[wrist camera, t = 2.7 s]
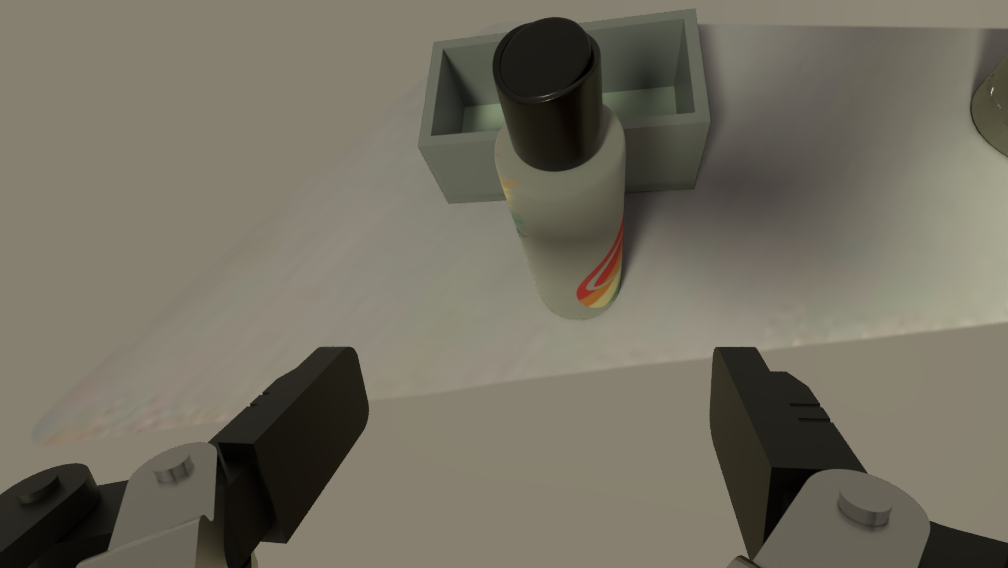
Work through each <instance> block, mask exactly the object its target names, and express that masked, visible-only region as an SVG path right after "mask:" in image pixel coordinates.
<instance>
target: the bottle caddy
mask: <svg viewBox="0 0 1008 568" xmlns="http://www.w3.org/2000/svg"><path fill="white" fill-rule="evenodd" d="M578 24H579V25H580V26H581V27H582V28H583V29H584V31H585V32H586V33H587V34H589V35H590V36H591V37H593V38H594V39H595V41H596V42H597V43H598V45H599V48H600V51H601V70H602V102H603V104H605V105H606V106H607V107H608V108H610V109H611V110H612V111H613V112H614V113H615V115H616V116H617V117H618V119H619V121H620V123H621V125H622V127H623V131H624V135H625V143H626V161H625V190H624V193H630V192H646V191H663V190H679V189H694V185H695V181H696V177H697V174H698V170H699V166H700V162H701V158H702V154H703V150H704V146H705V142H706V138H707V134H708V130H709V127H710V123H711V120H710V112H709V105H708V98H707V90H706V83H705V76H704V68H703V61H702V53H701V46H700V39H699V31H698V24H697V17H696V9H687V10H680V11H671V12H664V13H656V14H649V15H640V16H633V17H625V18H617V19H609V20H602V21H594V22H586V23H578ZM508 33H509V32H508ZM508 33H501V34H493V35H485V36H477V37H470V38H462V39H454V40H446V41H438V42H434V44H433V51H432V57H431V64H430V70H429V77H428V83H427V90H426V96H425V103H424V109H423V116H422V123H421V129H420V136H419V142H418V148H419V150H420V152H421V154H422V155H423V157H424V159H425V161H426V163H427V165H428V167H429V168H430V170H431V172H432V174H433V176H434V178H435V179H436V181H437V183H438V185H439V187H440V189H441V191H442V192H443V194H444V196H445V198H446V200H447V202H448V204H450V203H466V202H483V201H499V200H507V199H506V196H505V194H504V191H503V188H502V185H501V182H500V178H499V175H498V172H497V168H496V164H495V155H494V150H495V143H496V139H497V136H498V134H499V132H500V130H501V128H502V127H503V125H504V124H505V118H504V114H503V111H502V107H501V104H500V100H499V97H498V93H497V89H496V86H495V82H494V78H493V72H492V62H493V56H494V53H495V50H496V48H497V46H498V44H499V43H500V41H501V40H502V39H503V37H504V36H505V35H506V34H508Z"/></svg>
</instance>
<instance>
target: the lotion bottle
mask: <svg viewBox="0 0 1008 568" xmlns="http://www.w3.org/2000/svg"><path fill="white" fill-rule="evenodd" d="M492 72H493V78H494V82H495V86H496V89H497V93H498V97H499V100H500V104H501V107H502V111H503V114H504V118H505V124H504V125H503V127H502V128H501V130H500V132H499V134H498V136H497V139H496V143H495V150H494V155H495V164H496V168H497V172H498V175H499V178H500V182H501V185H502V188H503V191H504V194H505V196H506V199H507V202H508V205H509V208H510V211H511V214H512V217H513V220H514V223H515V226H516V228H517V231H518V234H519V237H520V240H521V243H522V246H523V249H524V252H525V255H526V258H527V260H528V263H529V266H530V269H531V272H532V275H533V278H534V281H535V284H536V286H537V289H538V292H539V294H540V296H541V298H542V300H543V302H544V303H545V304H546V306H547V307H548V308H549V309H550V310H551V311H553V312H554V313H556V314H557V315H559V316H561V317H564V318H567V319H571V320H585V319H590V318H593V317H596V316H598V315H600V314H601V313H603V312H604V311H606V310H607V309H608V308H609V307H610V306H611V305H612V303H613V302H614V300H615V299H616V297H617V294H618V292H619V288H620V282H621V267H622V242H623V216H624V190H625V161H626V143H625V135H624V131H623V127H622V125H621V123H620V121H619V119H618V117H617V116H616V115H615V113H614V112H613V111H612V110H611V109H610V108H608V107H607V106H606V105H605V104H603V102H602V70H601V51H600V48H599V45H598V43H597V42H596V41H595V39H594V38H593V37H591V36H590V35H589V34H587V33H586V32H585V31H584V29H583V28H582V27H581V26H580V25H579V24H577V23H576V22H574V21H572V20H569V19H566V18H560V17H551V18H544V19H541V20H537V21H535V22H531V23H527V24H524V25H521V26H519V27H517V28H515V29H513V30H511V31H510V32H509V33H508V34H506V35H505V36H504V37H503V39H502V40H501V41H500V43H499V44H498V46H497V48H496V50H495V53H494V56H493V62H492Z"/></svg>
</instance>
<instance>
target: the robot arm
mask: <svg viewBox="0 0 1008 568" xmlns="http://www.w3.org/2000/svg"><path fill="white" fill-rule="evenodd" d="M971 111H972V115H973V119H974V123H975V124H976V126H977V128H978V130H979V131H980V133H981V134H982V135H983V137H984V138H985V139H986V140H987V141H988V142H989V143H990V144H991V145H992V146H994V147H995V148H996V149H998V150H999V151H1000V152H1002V153H1003V154H1005V155H1006V156H1008V54H1007V55H1006V56H1005V58H1004V59H1003V60H1002V61H1001V62H1000V63H999V65H998V66H997V67H996V68H995V69H994V70H993V72H992V73H991V74H990V75H989V76H988V77H987V78H986V80H985V81H984V82H983V83H982V84H981V85H980V87H979V88H978V89H977V90H976V93H975V95H974V97H973V99H972V110H971ZM368 415H369V405H368V399H367V395H366V390H365V386H364V381H363V377H362V373H361V368H360V364H359V359H358V355H357V353H356V351H355V350H354V349H353V348H352V347H319V348H317V349H316V350H315V351H314V352H313V353H312V354H311V355H310V356H309V357H308V358H307V359H306V360H304V361H303V362H302V363H301V364H300V365H299V366H298V367H297V368H296V369H294V370H292V371H290V372H289V373H287V374H285V375H283V376H281V377H280V378H278V379H277V380H276V381H274V382H273V383H272V384H271V385H270V386H269V387H268V388H267V389H266V390H265V391H264V392H263V395H259V396H258V397H257V398H256V399H255V400H254V401H253V402H252V403H250V407H246V408H245V409H244V410H243V411H242V412H241V413H240V414H238V415H237V416H236V417H235V418H234V419H233V420H232V421H231V422H230V423H229V424H228V425H226V426H225V427H224V428H223V429H222V430H221V431H220V432H219V433H218V434H217V435H216V436H214V437H213V438H212V439H211V440H210V441H209V442H208V443H204V442H196V443H189V444H184V445H181V446H177V447H174V448H172V449H169V450H167V451H165V452H162V453H161V454H159V455H157V456H155V457H153V458H152V459H150V460H148V461H147V462H146V463H144V464H143V465H142V466H141V467H139V468H138V469H137V470H136V471H135V472H134V473H133V475H132V476H131V478H130V479H129V480H126V481H121V482H115V483H110V484H105V485H99V486H97V485H96V482H95V480H94V478H93V476H92V474H91V472H90V470H89V468H88V467H87V466H86V465H83V464H77V463H75V464H65V465H61V466H57V467H53V468H50V469H47V470H44V471H42V472H39V473H37V474H35V475H32V476H30V477H28V478H26V479H24V480H22V481H21V482H19V483H17V484H15V485H14V486H12V487H11V488H9V489H8V490H6V491H5V492H3V493H2V494H1V495H0V568H258V562H257V558H256V556H255V553H254V549H255V548H256V547H257V545H258V544H259V543H260V541H262V542H273V543H285V544H286V543H287V542H288V541H289V539H290V538H291V536H292V535H293V533H294V532H295V530H296V529H297V527H298V526H299V525H300V523H301V522H302V520H303V519H304V517H305V516H306V514H307V513H308V511H309V510H310V508H311V507H312V505H313V504H314V503H315V501H316V500H317V498H318V497H319V495H320V494H321V492H322V491H323V489H324V488H325V486H326V485H327V483H328V482H329V481H330V479H331V478H332V476H333V474H334V473H335V472H336V470H337V469H338V467H339V466H340V464H341V463H342V461H343V460H344V459H345V457H346V456H347V454H348V453H349V451H350V450H351V448H352V447H353V445H354V444H355V442H356V441H357V439H358V438H359V436H360V435H361V433H362V432H363V431H364V429H365V426H366V424H367V420H368ZM710 429H711V435H712V440H713V445H714V447H715V451H716V454H717V457H718V460H719V464H720V467H721V470H722V473H723V476H724V479H725V483H726V486H727V489H728V492H729V496H730V499H731V502H732V505H733V508H734V511H735V514H736V518H737V521H738V524H739V527H740V531H741V534H742V537H743V540H744V543H745V547H746V549H747V553H748V556H749V559H750V560H749V559H748V558H746V557H744V556H742V555H740V556H737V557H736V558H735V559H734V560H733V561H732V562H731V563H730V564H729V565H728V566H727V568H1008V543H1006V542H1002V541H998V540H994V539H991V538H987V537H983V536H979V535H975V534H972V533H968V532H964V531H960V530H956V529H953V528H949V527H946V526H943V525H939V524H937V523H934V522H932V521H929V519H928V517H927V515H926V513H925V511H924V510H923V509H922V507H921V506H920V505H919V504H918V503H917V502H916V501H915V500H914V499H913V498H912V497H911V496H909V495H908V494H907V493H906V492H904V491H903V490H901V489H900V488H898V487H897V486H895V485H893V484H891V483H889V482H887V481H885V480H883V479H880V478H878V477H875V476H872V475H869V474H868V473H867V472H866V470H865V469H864V468H863V466H862V465H861V463H860V462H859V460H858V459H857V457H856V456H855V454H854V453H853V452H852V450H851V448H850V447H849V445H848V444H847V443H846V441H845V440H844V438H843V437H842V435H841V434H840V432H839V431H838V429H837V428H836V427H835V425H834V424H833V423H831V422H830V418H829V416H828V415H827V413H826V412H825V410H824V409H823V408H822V407H820V403H819V402H818V400H817V399H816V397H815V396H814V395H813V393H812V392H811V390H810V389H809V387H808V386H807V385H805V384H804V383H802V382H801V381H799V380H798V379H796V378H795V377H793V376H792V375H790V374H789V373H787V372H770V370H769V369H768V367H767V365H766V363H765V362H764V360H763V358H762V357H761V355H760V353H759V352H758V350H757V349H756V348H755V347H716V348H715V349H714V353H713V362H712V379H711V397H710Z"/></svg>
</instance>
